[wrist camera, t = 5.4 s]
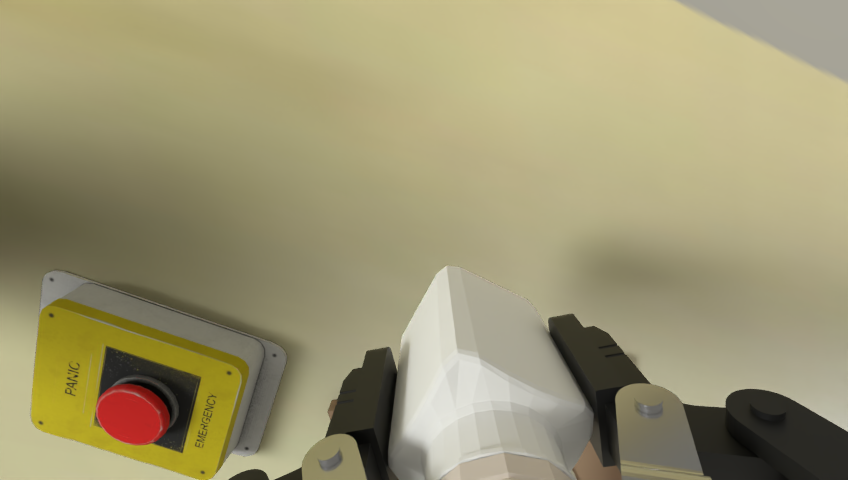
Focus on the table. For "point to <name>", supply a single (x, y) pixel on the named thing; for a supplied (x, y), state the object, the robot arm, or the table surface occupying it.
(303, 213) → the table surface
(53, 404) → the emergency button
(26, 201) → the table surface
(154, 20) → the table surface
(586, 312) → the table surface
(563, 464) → the pepper shaker
